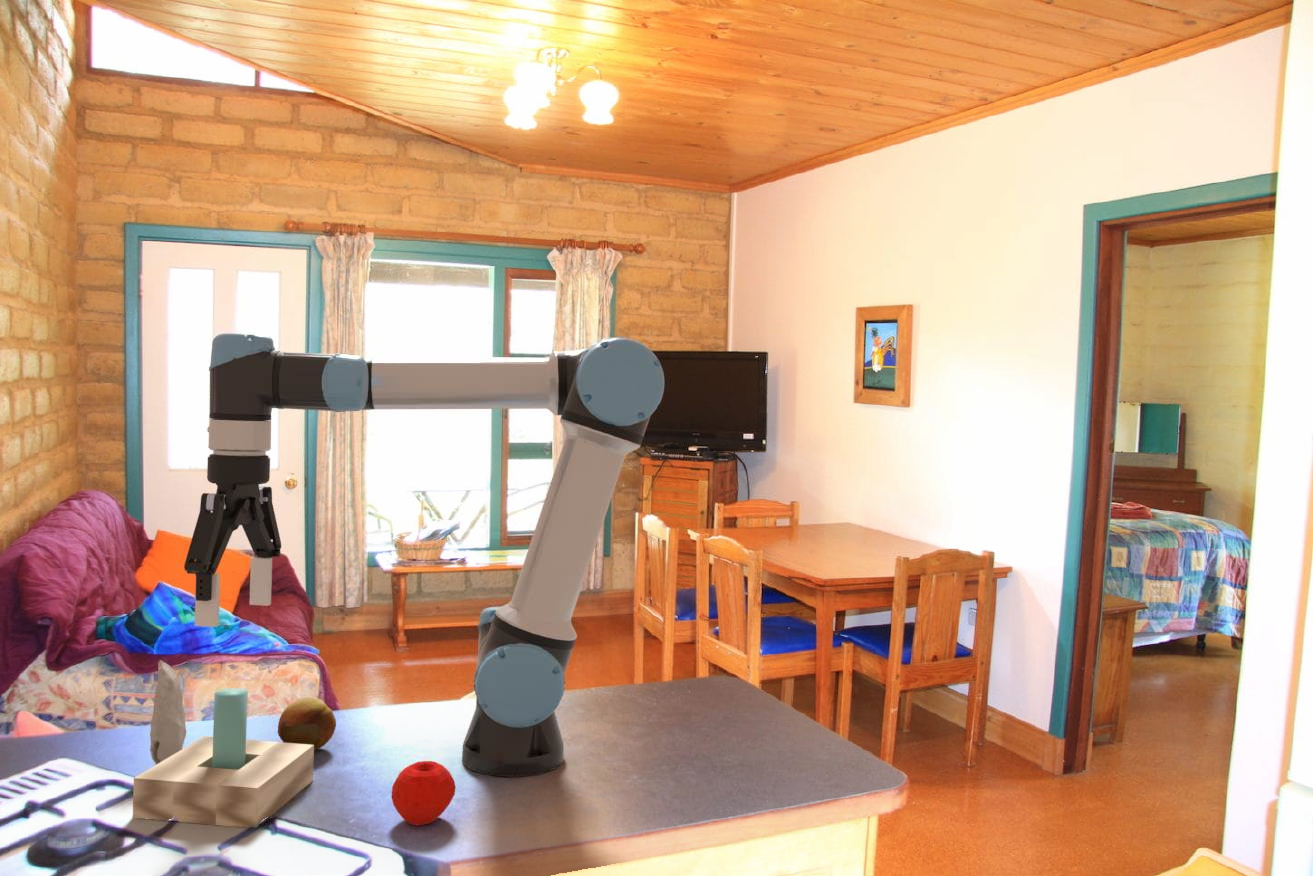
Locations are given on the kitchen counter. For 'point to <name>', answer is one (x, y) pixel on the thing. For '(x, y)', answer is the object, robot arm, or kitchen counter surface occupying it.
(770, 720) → the kitchen counter surface
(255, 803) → the socket block
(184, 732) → the stone tool
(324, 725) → the fruit
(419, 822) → the apple
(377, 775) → the kitchen counter surface
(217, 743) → the peg
